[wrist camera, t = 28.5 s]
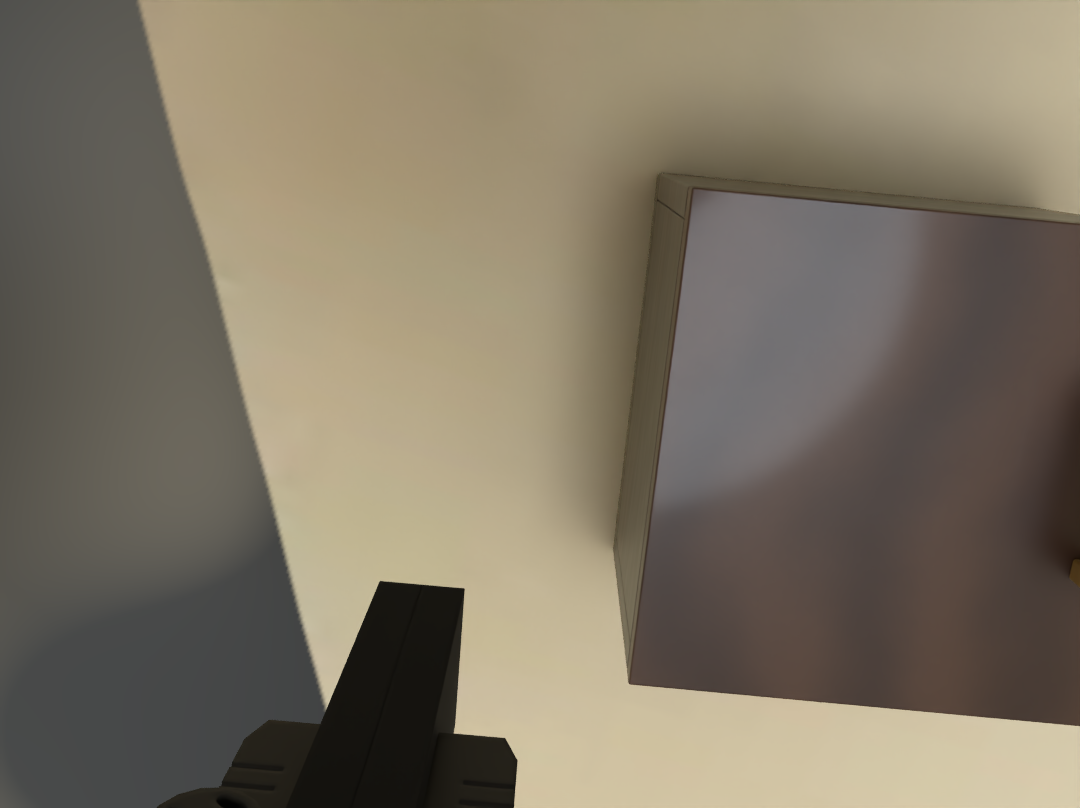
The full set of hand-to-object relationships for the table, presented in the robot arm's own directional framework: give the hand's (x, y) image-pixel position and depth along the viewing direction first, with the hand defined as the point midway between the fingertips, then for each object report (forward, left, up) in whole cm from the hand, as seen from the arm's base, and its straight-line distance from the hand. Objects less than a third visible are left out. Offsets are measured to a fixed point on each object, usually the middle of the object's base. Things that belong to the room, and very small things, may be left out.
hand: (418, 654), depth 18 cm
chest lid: (-13, 0, -14) cm, 19 cm away
